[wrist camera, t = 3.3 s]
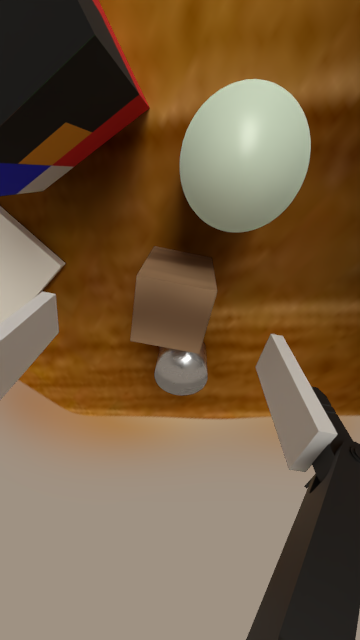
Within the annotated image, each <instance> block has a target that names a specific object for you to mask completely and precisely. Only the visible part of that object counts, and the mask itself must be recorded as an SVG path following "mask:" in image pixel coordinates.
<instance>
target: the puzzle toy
mask: <svg viewBox="0 0 360 640" xmlns="http://www.w3.org/2000/svg"><path fill="white" fill-rule="evenodd" d="M148 109H149V106H148V104H147V102H146V100H145V97H144V95H143V93H142V91H141V89H140V87H139V85H138V83H137V81H136V78H135V76H134V74H133V72H132V70H131V68H130V66H129V64H128V62H127V59H126V57H125V55H124V53H123V51H122V49H121V47H120V45H119V43H118V41H117V38H116V36H115V34H114V32H113V30H112V28H111V26H110V24H109V22H108V19H107V17H106V15H105V13H104V11H103V9H102V7H101V5H100V3H99V1H98V0H0V196H7V195H15V194H23V193H32V192H40V191H44V190H45V189H46V188H48V187H49V186H50V185H51V184H53V183H54V182H55V181H57V180H58V179H59V178H60V177H62V176H63V175H64V174H66V173H67V172H68V171H69V170H71V169H72V168H73V167H75V166H76V165H77V164H78V163H80V162H81V161H82V160H84V159H85V158H86V157H87V156H89V155H90V154H91V153H93V152H94V151H95V150H96V149H98V148H99V147H100V146H102V145H103V144H104V143H105V142H107V141H108V140H109V139H111V138H112V137H113V136H114V135H116V134H117V133H118V132H120V131H121V130H122V129H123V128H125V127H126V126H127V125H129V124H130V123H131V122H132V121H134V120H135V119H136V118H138V117H139V116H140V115H141V114H143V113H144V112H145V111H147V110H148Z"/></svg>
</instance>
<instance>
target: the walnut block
mask: <svg viewBox="0 0 360 640" xmlns="http://www.w3.org/2000/svg"><path fill="white" fill-rule="evenodd" d="M216 294H217V286H216V280H215V274H214V268H213V262H212V258H210V257H206V256H201V255H196V254H191V253H186V252H181V251H176V250H171V249H166V248H161V247H157V246H154V247H153V249H152V251H151V252H150V254H149V256H148V257H147V259H146V261H145V262H144V264H143V266H142V267H141V269H140V271H139V272H138V274H137V277H136V288H135V298H134V308H133V319H132V329H131V339H130V341H134V342H139V343H144V344H150V345H155V346H160V347H166V348H171V349H176V350H182V351H187V352H192V353H198V354H199V353H200V349H201V346H202V342H203V339H204V335H205V332H206V329H207V325H208V322H209V318H210V315H211V312H212V308H213V305H214V301H215V298H216Z"/></svg>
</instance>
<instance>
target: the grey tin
mask: <svg viewBox="0 0 360 640" xmlns="http://www.w3.org/2000/svg"><path fill="white" fill-rule="evenodd" d="M154 376H155V380H156V382H157V384H158V385H159V386H160V387H161V388H162V389H163V390H165V391H166V392H168V393H171V394H175V395H190V394H194V393H196V392H198V391H200V390H201V389H202V388H203V387H204V386H205V384H206V382H207V357H206V346H205V344H204V342H202V346H201V349H200V353H199V354H198V353H192V352H187V351H182V350H176V349H171V348H166V347H160V350H159V355H158V359H157V364H156V368H155V374H154Z"/></svg>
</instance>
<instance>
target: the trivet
mask: <svg viewBox="0 0 360 640" xmlns="http://www.w3.org/2000/svg"><path fill="white" fill-rule="evenodd" d="M65 264H66V263H65V262H64V261H62V260H61V259H60V258H59V257H58V256H57V255H56V254H54V253H53V252H52V251H51V250H50V249H49V248H48V247H46V246H45V245H44V244H43V243H42V242H41V241H40V240H38V239H37V238H36V237H35V236H34V235H33V234H32V233H30V232H29V231H28V230H27V229H26V228H25V227H24V226H22V225H21V224H20V223H19V222H18V221H17V220H16V219H14V218H13V217H12V216H11V215H10V214H9V213H8V212H6V211H5V210H4V209H3V208H2V207H1V206H0V323H2V322H3V321H4V320H6V319H7V318H8V317H10V316H11V315H12V314H14V313H15V312H16V311H18V310H19V309H20V308H21V307H23V306H24V305H25V304H27V303H28V302H29V301H31V300H32V299H33V298H35V297H36V296H37V295H39V294H40V293H41V292H42V291H43V289H44V288H45V287H46V286H47V285H48V284H49V282H50V281H51V280H52V279H53V278H54V277H55V275H56V274H57V273H58V272H59V271H60V270H61V268H62V267H63V266H64V265H65Z"/></svg>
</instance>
